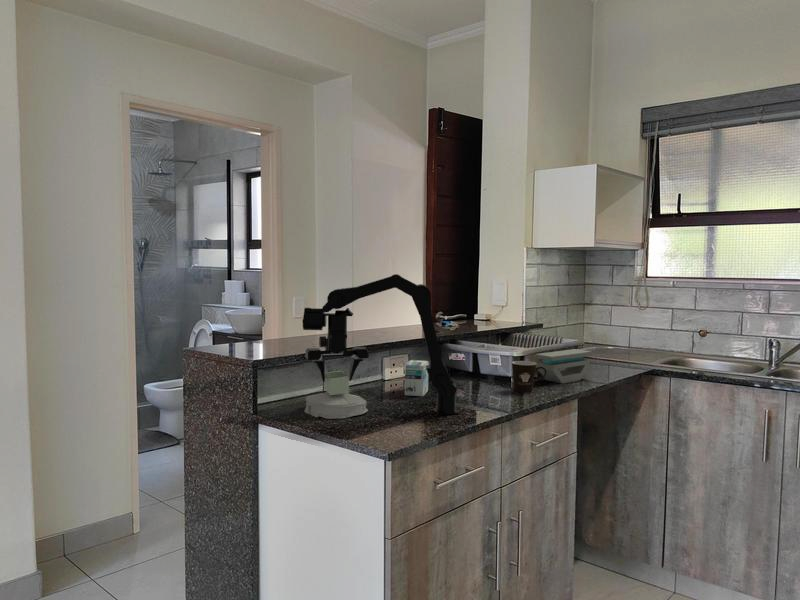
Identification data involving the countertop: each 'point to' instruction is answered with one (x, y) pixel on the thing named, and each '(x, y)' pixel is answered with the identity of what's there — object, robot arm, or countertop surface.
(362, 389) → the countertop surface
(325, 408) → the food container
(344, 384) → the crate
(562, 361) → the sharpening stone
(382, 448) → the countertop surface
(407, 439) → the countertop surface
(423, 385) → the light bulb box
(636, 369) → the countertop surface
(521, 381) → the coffee mug
